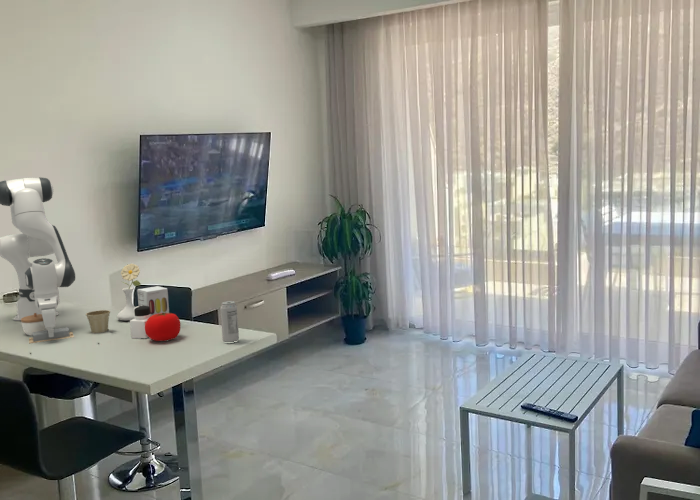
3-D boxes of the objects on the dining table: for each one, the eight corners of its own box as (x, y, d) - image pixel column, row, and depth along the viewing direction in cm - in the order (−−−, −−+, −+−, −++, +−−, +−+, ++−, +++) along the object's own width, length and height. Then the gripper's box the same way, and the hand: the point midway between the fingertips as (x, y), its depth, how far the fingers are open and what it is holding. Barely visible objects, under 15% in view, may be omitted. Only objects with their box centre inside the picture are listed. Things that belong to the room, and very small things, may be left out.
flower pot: (91, 331, 275) (89, 310, 274) (114, 329, 276) (113, 309, 274) (84, 337, 266) (82, 315, 264) (108, 335, 266) (106, 314, 265)
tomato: (171, 344, 248) (169, 317, 247) (139, 344, 250) (137, 317, 249) (187, 334, 262) (185, 308, 261) (157, 334, 264) (155, 308, 263)
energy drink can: (233, 338, 252) (230, 300, 250) (242, 341, 248) (239, 302, 246) (219, 342, 248) (216, 303, 246) (228, 345, 244) (225, 304, 242)
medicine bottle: (157, 334, 265) (154, 304, 263) (146, 339, 258) (143, 308, 257) (142, 333, 267) (139, 304, 266) (130, 338, 260) (128, 308, 259)
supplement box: (149, 332, 268) (145, 291, 265) (139, 329, 275) (136, 289, 272) (171, 328, 274) (167, 287, 272) (161, 324, 281) (157, 285, 278)
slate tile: (33, 338, 263) (32, 332, 263) (68, 333, 269) (68, 327, 268) (33, 341, 258) (32, 335, 258) (69, 336, 263) (68, 330, 263)
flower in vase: (111, 321, 290) (105, 265, 287) (129, 315, 301) (124, 261, 297) (135, 323, 285) (130, 265, 282) (152, 317, 296) (147, 261, 293)
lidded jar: (40, 339, 265) (38, 316, 264) (17, 339, 268) (14, 316, 266) (57, 332, 276) (55, 310, 274) (34, 332, 278) (32, 310, 277)
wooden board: (29, 340, 265) (29, 337, 264) (72, 334, 271) (72, 331, 271) (29, 346, 256) (29, 343, 255) (74, 339, 262) (73, 337, 262)
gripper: (38, 296, 269) (41, 330, 271) (38, 305, 251) (42, 341, 253) (55, 294, 272) (58, 328, 274) (57, 303, 254) (60, 338, 255)
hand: (51, 334), depth 263 cm, fingers open, 8 cm apart
